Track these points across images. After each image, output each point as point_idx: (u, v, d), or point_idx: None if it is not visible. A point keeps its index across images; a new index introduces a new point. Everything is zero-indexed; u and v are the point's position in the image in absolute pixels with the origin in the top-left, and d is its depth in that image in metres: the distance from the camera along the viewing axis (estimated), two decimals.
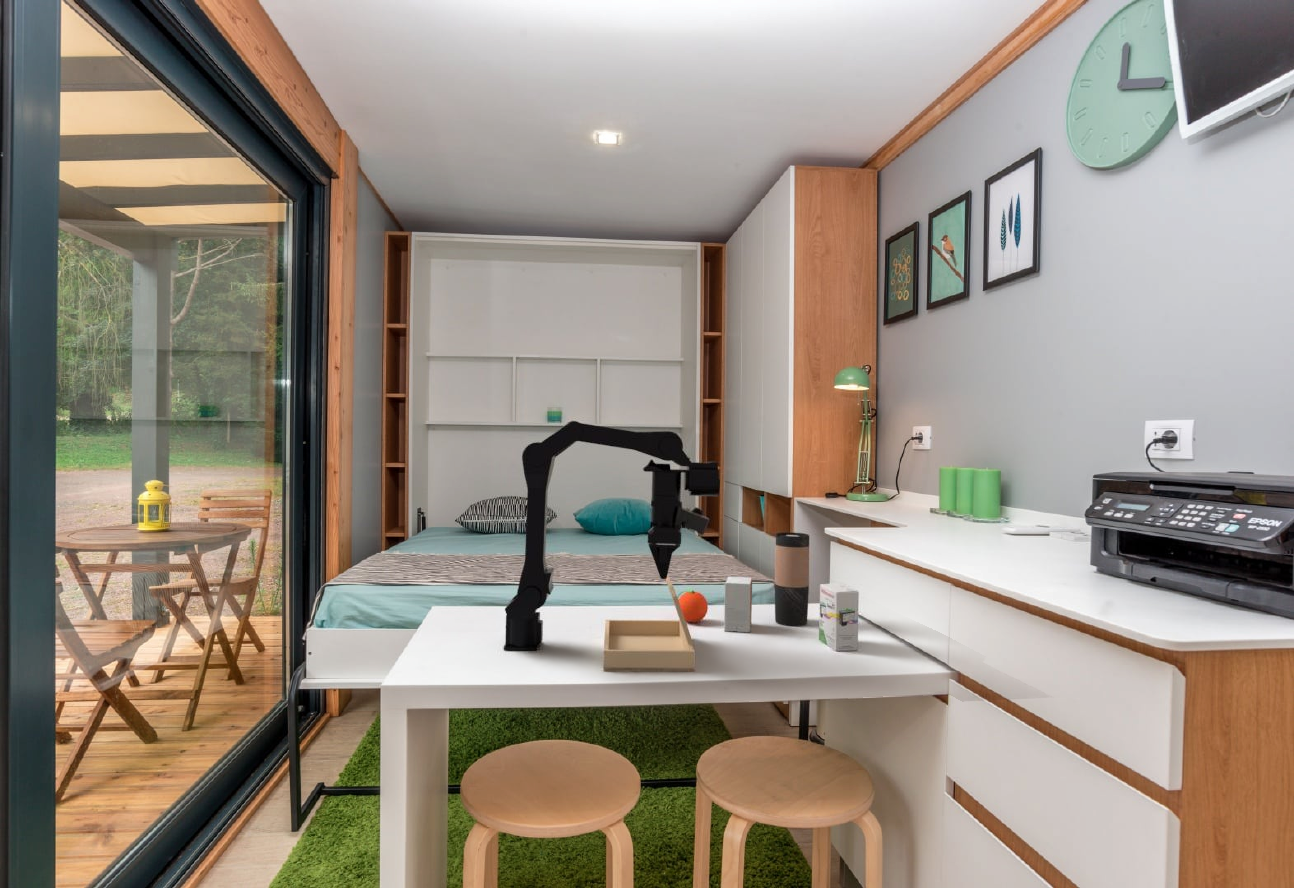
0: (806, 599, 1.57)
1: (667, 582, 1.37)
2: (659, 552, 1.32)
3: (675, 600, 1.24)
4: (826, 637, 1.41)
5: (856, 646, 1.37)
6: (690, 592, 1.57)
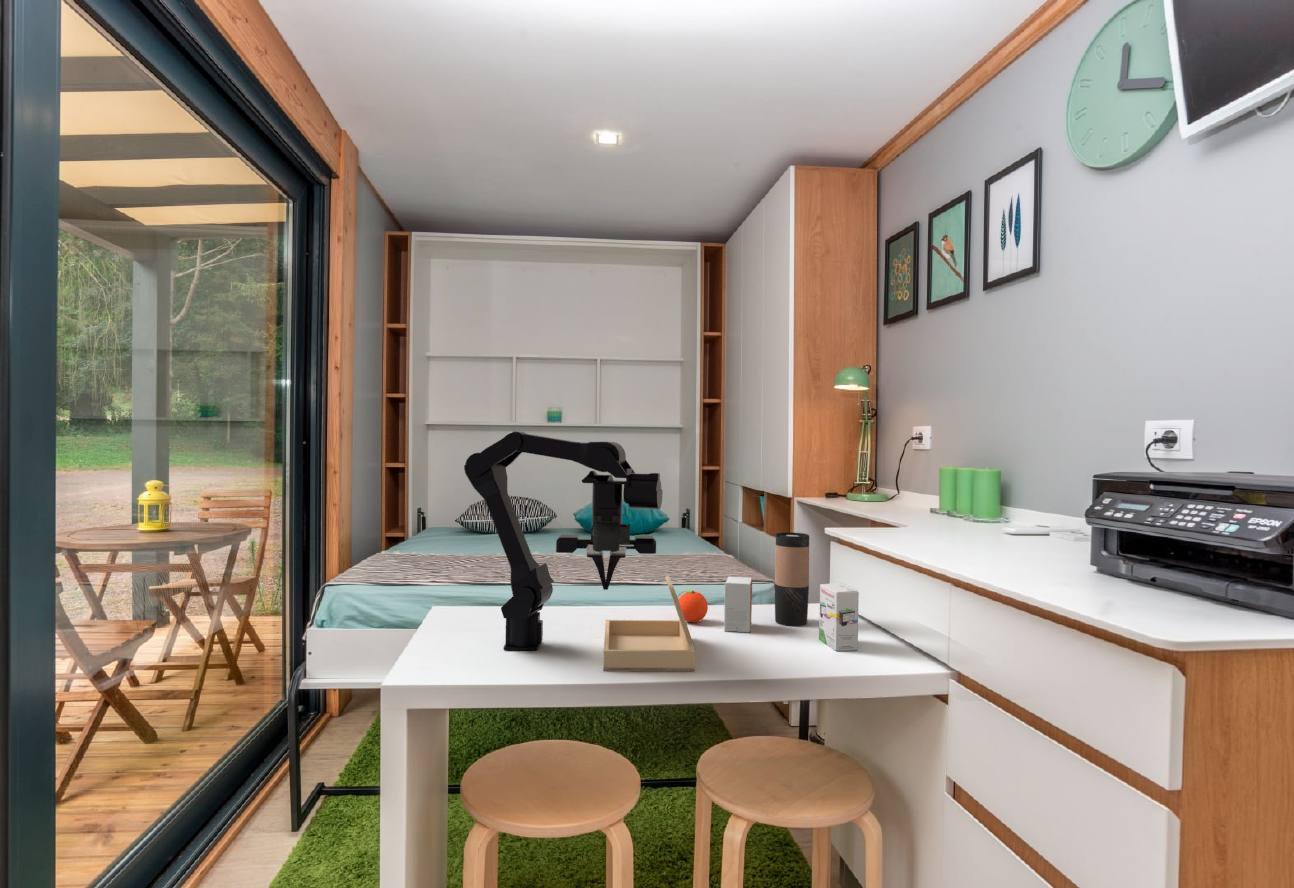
0: (806, 599, 1.57)
1: (667, 582, 1.37)
2: None
3: (675, 600, 1.24)
4: (826, 637, 1.41)
5: (856, 646, 1.37)
6: (690, 592, 1.57)
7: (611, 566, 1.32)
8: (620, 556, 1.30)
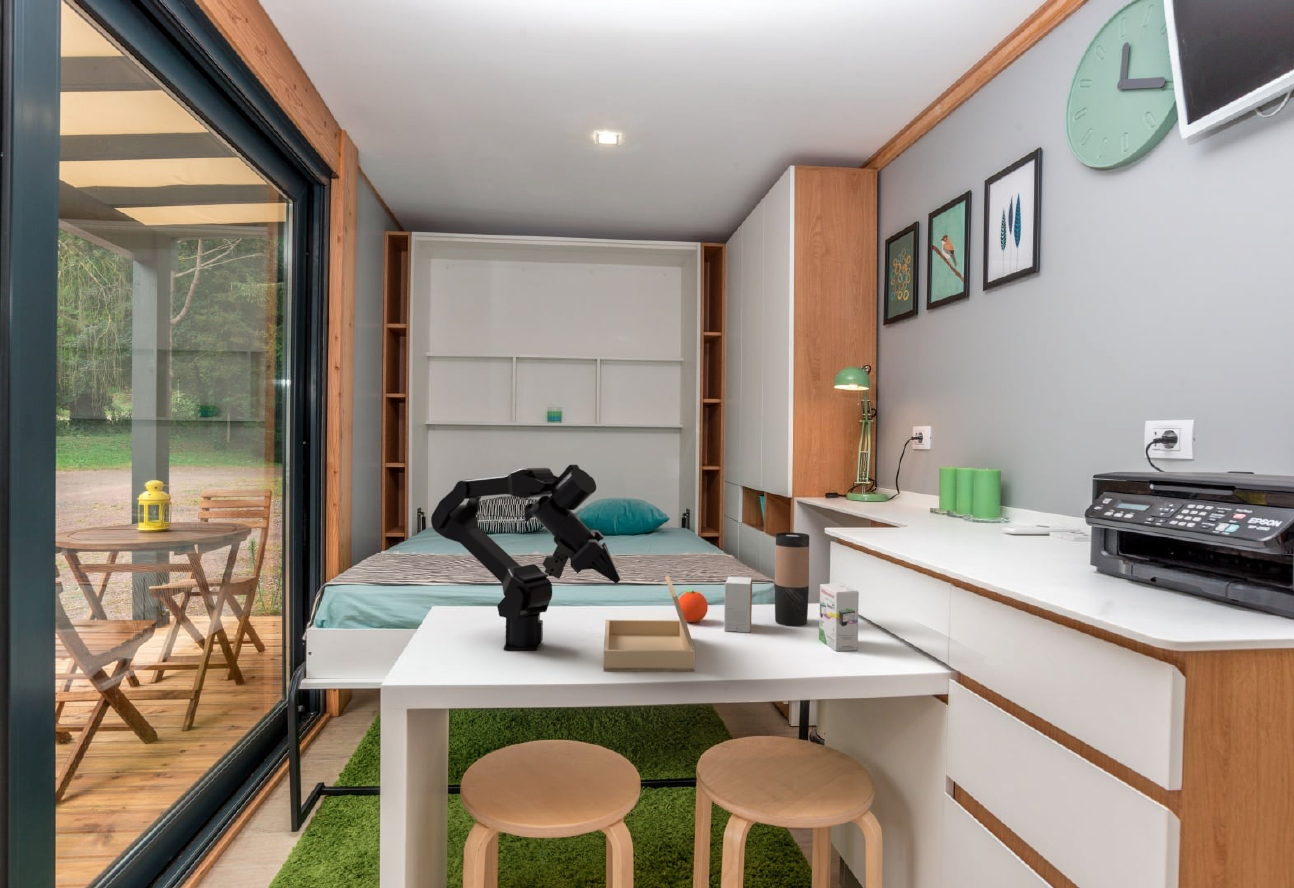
0: (806, 599, 1.57)
1: (667, 582, 1.37)
2: None
3: (675, 600, 1.24)
4: (826, 637, 1.41)
5: (856, 646, 1.37)
6: (690, 592, 1.57)
7: None
8: None
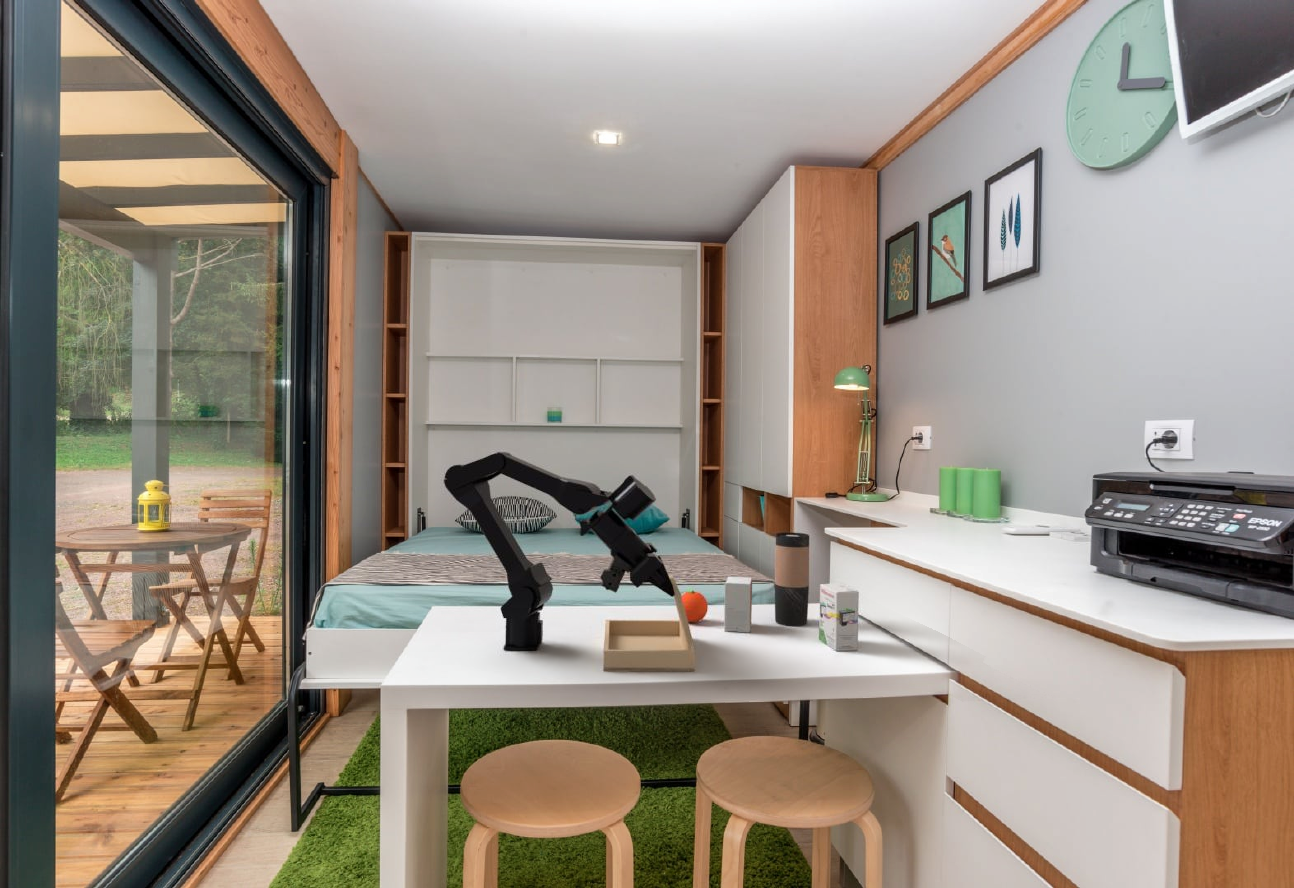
0: (806, 599, 1.57)
1: (671, 581, 1.37)
2: None
3: (679, 599, 1.24)
4: (826, 637, 1.41)
5: (856, 646, 1.37)
6: (690, 592, 1.57)
7: None
8: None
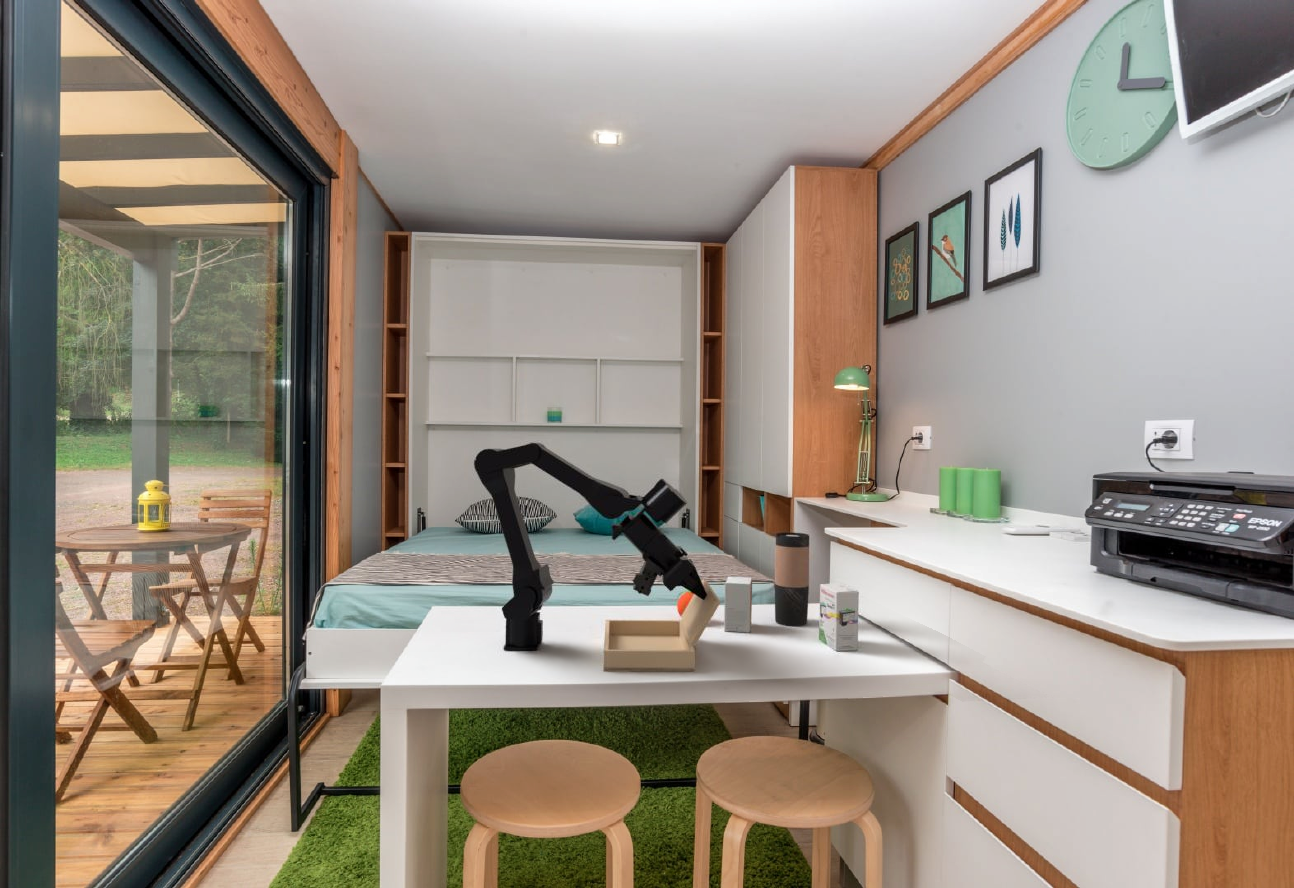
0: (806, 599, 1.57)
1: (707, 584, 1.38)
2: None
3: (716, 603, 1.24)
4: (826, 637, 1.41)
5: (856, 646, 1.37)
6: (690, 592, 1.57)
7: None
8: None
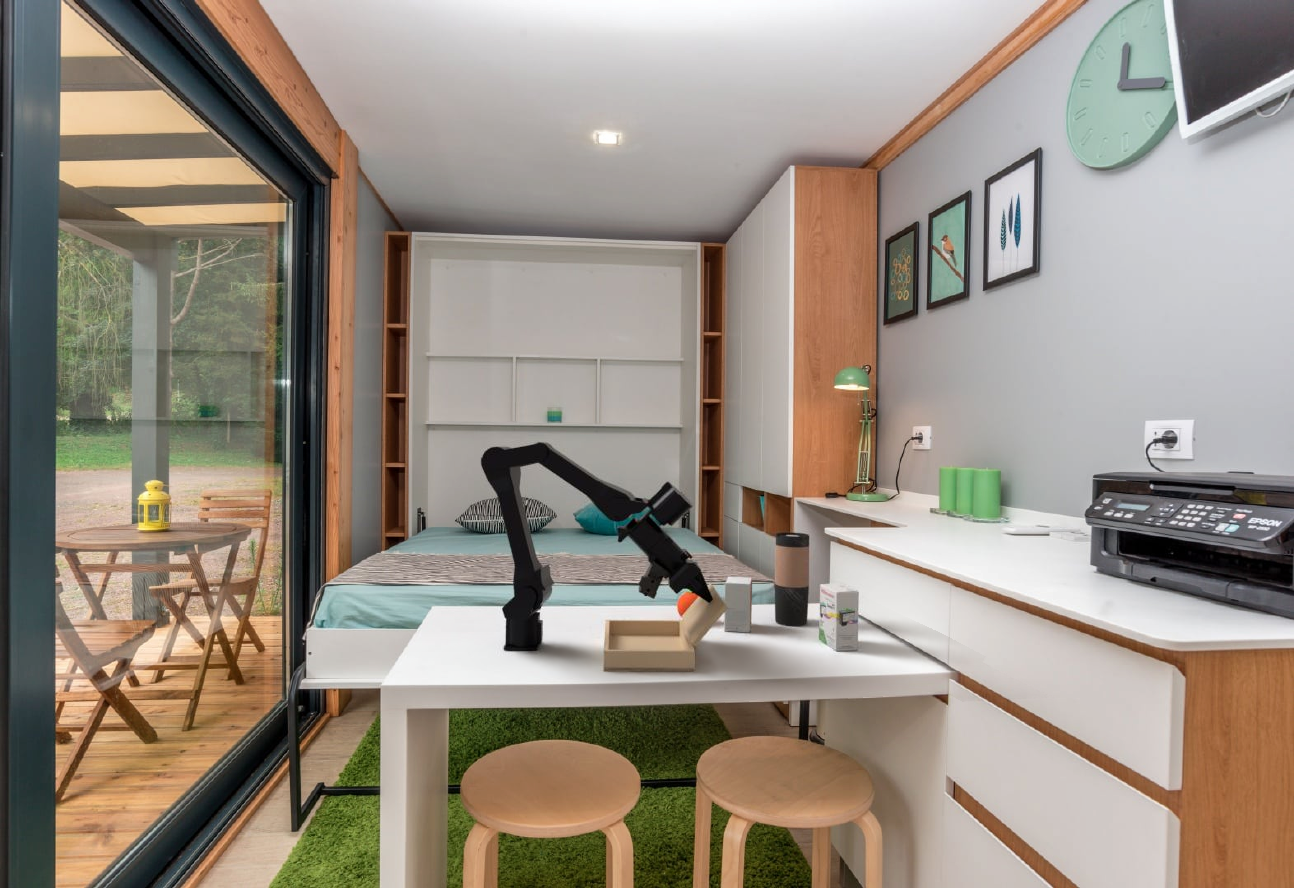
0: (806, 599, 1.57)
1: (714, 589, 1.38)
2: None
3: (723, 608, 1.24)
4: (826, 637, 1.41)
5: (856, 646, 1.37)
6: (690, 592, 1.57)
7: None
8: None
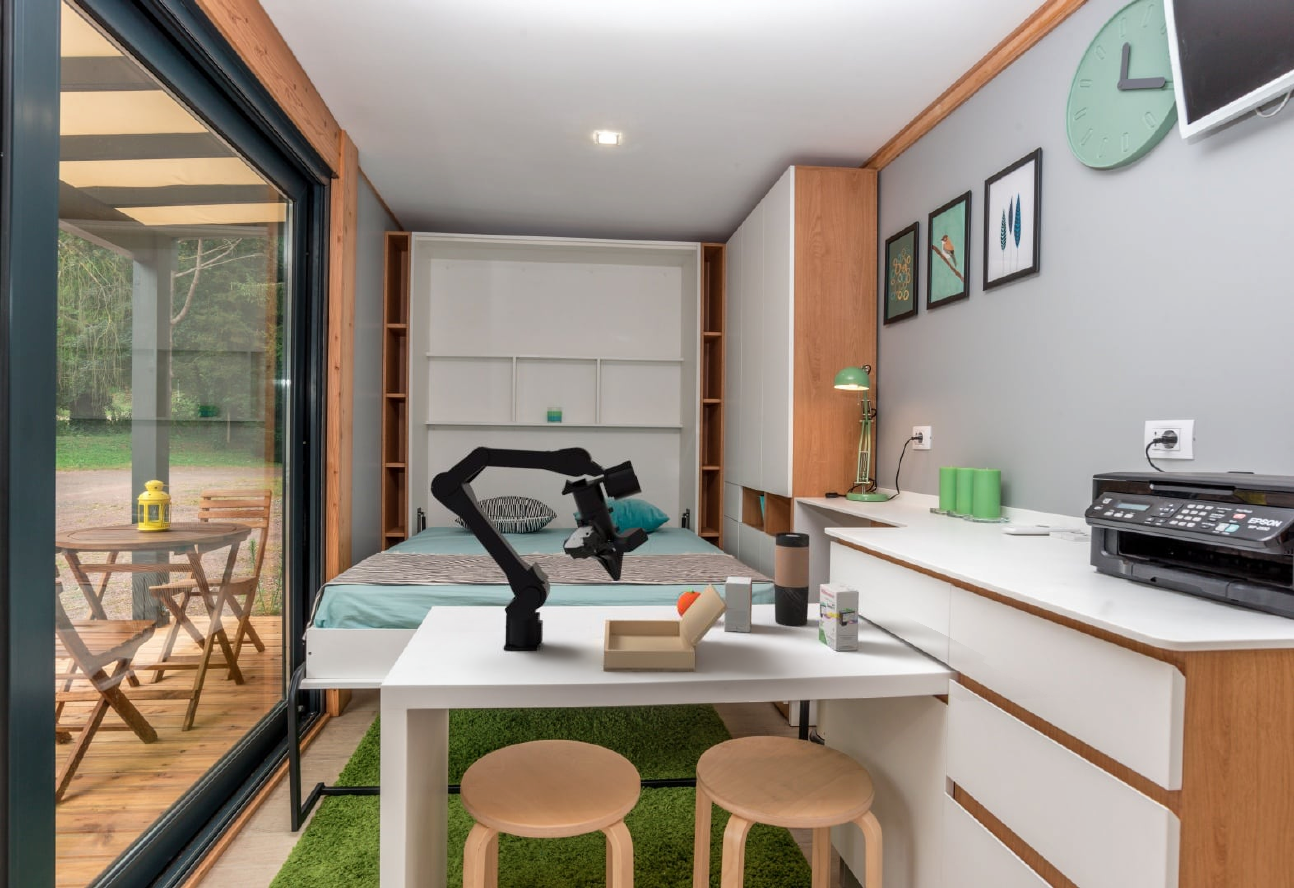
0: (806, 599, 1.57)
1: (714, 589, 1.38)
2: None
3: (723, 608, 1.24)
4: (826, 637, 1.41)
5: (856, 646, 1.37)
6: (690, 592, 1.57)
7: (609, 562, 1.38)
8: (607, 555, 1.35)
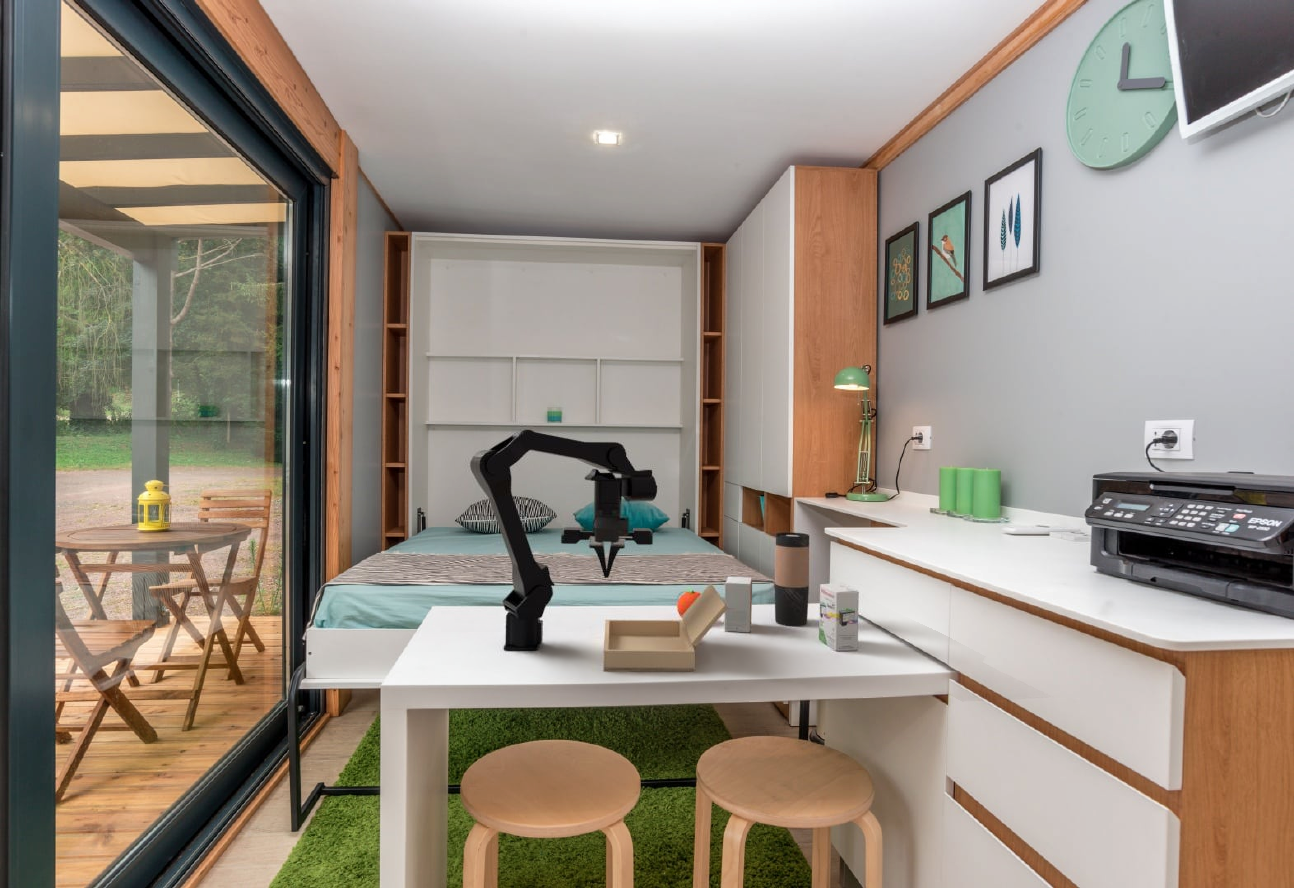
0: (806, 599, 1.57)
1: (714, 589, 1.38)
2: None
3: (723, 608, 1.24)
4: (826, 637, 1.41)
5: (856, 646, 1.37)
6: (690, 592, 1.57)
7: (611, 556, 1.44)
8: (620, 547, 1.42)
